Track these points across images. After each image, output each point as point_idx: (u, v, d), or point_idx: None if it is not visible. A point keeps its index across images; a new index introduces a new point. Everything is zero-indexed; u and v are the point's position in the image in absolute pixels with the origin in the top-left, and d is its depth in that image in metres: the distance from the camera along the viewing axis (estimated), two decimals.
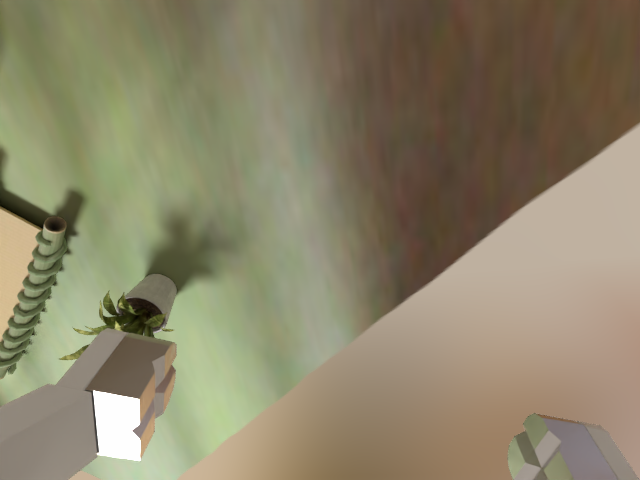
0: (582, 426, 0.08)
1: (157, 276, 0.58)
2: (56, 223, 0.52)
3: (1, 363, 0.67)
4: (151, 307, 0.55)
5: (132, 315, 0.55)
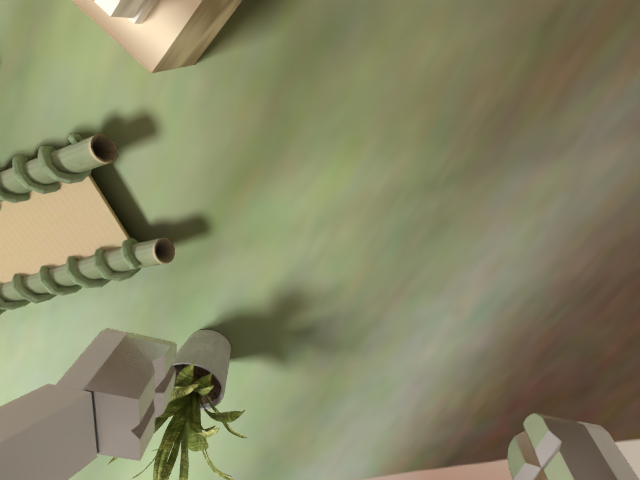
0: (582, 426, 0.08)
1: (221, 338, 0.46)
2: (162, 247, 0.38)
3: None
4: None
5: None
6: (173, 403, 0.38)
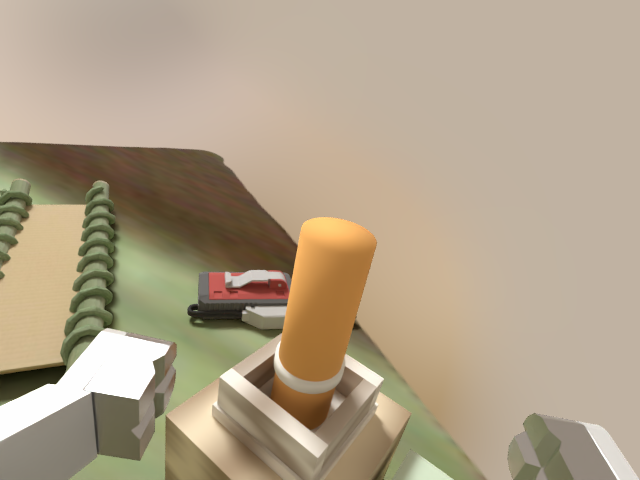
0: (582, 426, 0.08)
1: None
2: None
3: (10, 195, 0.53)
4: None
5: None
6: None
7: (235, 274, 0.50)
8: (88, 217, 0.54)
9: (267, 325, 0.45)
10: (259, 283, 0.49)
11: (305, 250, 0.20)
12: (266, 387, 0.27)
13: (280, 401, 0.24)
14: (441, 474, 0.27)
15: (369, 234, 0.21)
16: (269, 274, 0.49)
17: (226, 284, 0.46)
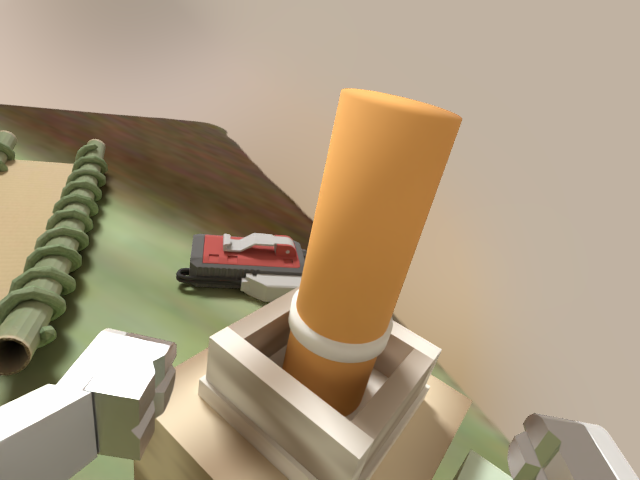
0: (582, 426, 0.08)
1: None
2: None
3: None
4: None
5: None
6: None
7: (236, 238, 0.42)
8: (73, 174, 0.46)
9: (270, 297, 0.38)
10: (263, 249, 0.41)
11: (348, 119, 0.12)
12: (275, 359, 0.20)
13: (297, 375, 0.17)
14: None
15: (445, 110, 0.14)
16: (276, 239, 0.41)
17: (224, 247, 0.39)
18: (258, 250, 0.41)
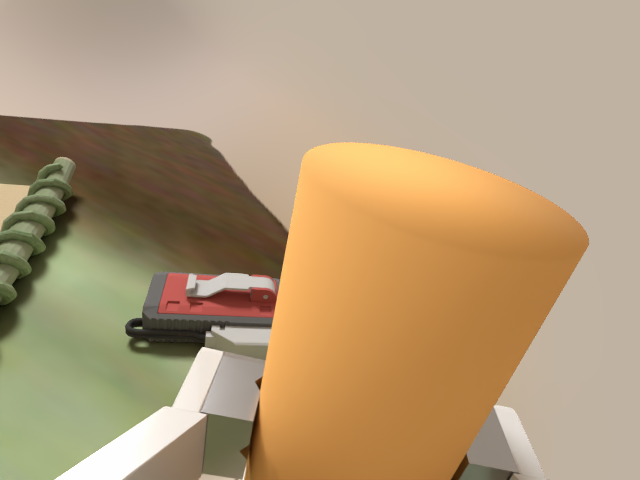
0: None
1: None
2: None
3: None
4: None
5: None
6: None
7: (206, 277, 0.35)
8: (22, 201, 0.39)
9: None
10: (237, 292, 0.34)
11: (317, 240, 0.05)
12: None
13: None
14: None
15: (527, 192, 0.06)
16: (252, 280, 0.34)
17: (187, 291, 0.32)
18: (230, 294, 0.34)
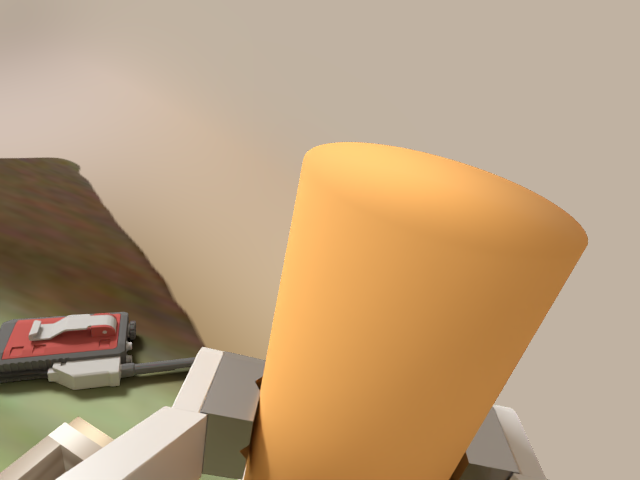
0: (491, 408, 0.08)
1: None
2: None
3: None
4: None
5: None
6: None
7: (53, 320, 0.41)
8: None
9: (80, 385, 0.38)
10: (80, 331, 0.41)
11: (318, 238, 0.05)
12: None
13: None
14: None
15: (527, 192, 0.06)
16: (92, 319, 0.41)
17: (29, 337, 0.38)
18: (74, 333, 0.40)
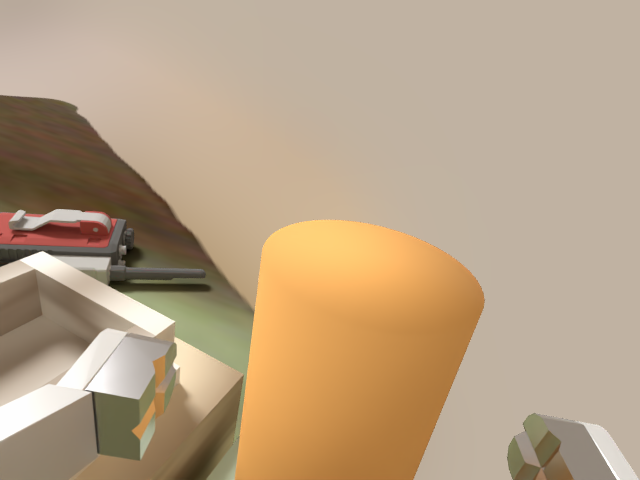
0: (582, 426, 0.08)
1: None
2: None
3: None
4: None
5: None
6: None
7: (41, 216, 0.36)
8: None
9: None
10: (69, 227, 0.36)
11: (271, 316, 0.06)
12: None
13: None
14: None
15: (450, 261, 0.08)
16: (83, 215, 0.35)
17: (10, 224, 0.33)
18: (61, 228, 0.35)
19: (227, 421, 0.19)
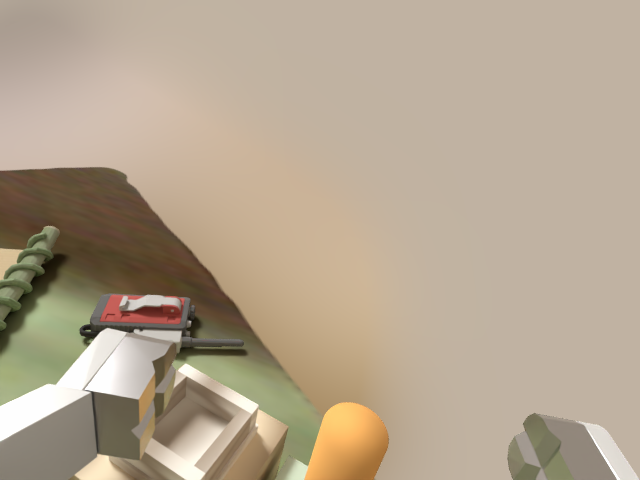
0: (582, 426, 0.08)
1: None
2: None
3: None
4: None
5: None
6: None
7: (136, 297, 0.54)
8: (9, 269, 0.53)
9: None
10: (155, 307, 0.53)
11: (325, 452, 0.22)
12: (159, 426, 0.32)
13: None
14: None
15: (381, 425, 0.24)
16: (164, 300, 0.52)
17: (119, 307, 0.50)
18: (150, 308, 0.52)
19: (279, 450, 0.36)
